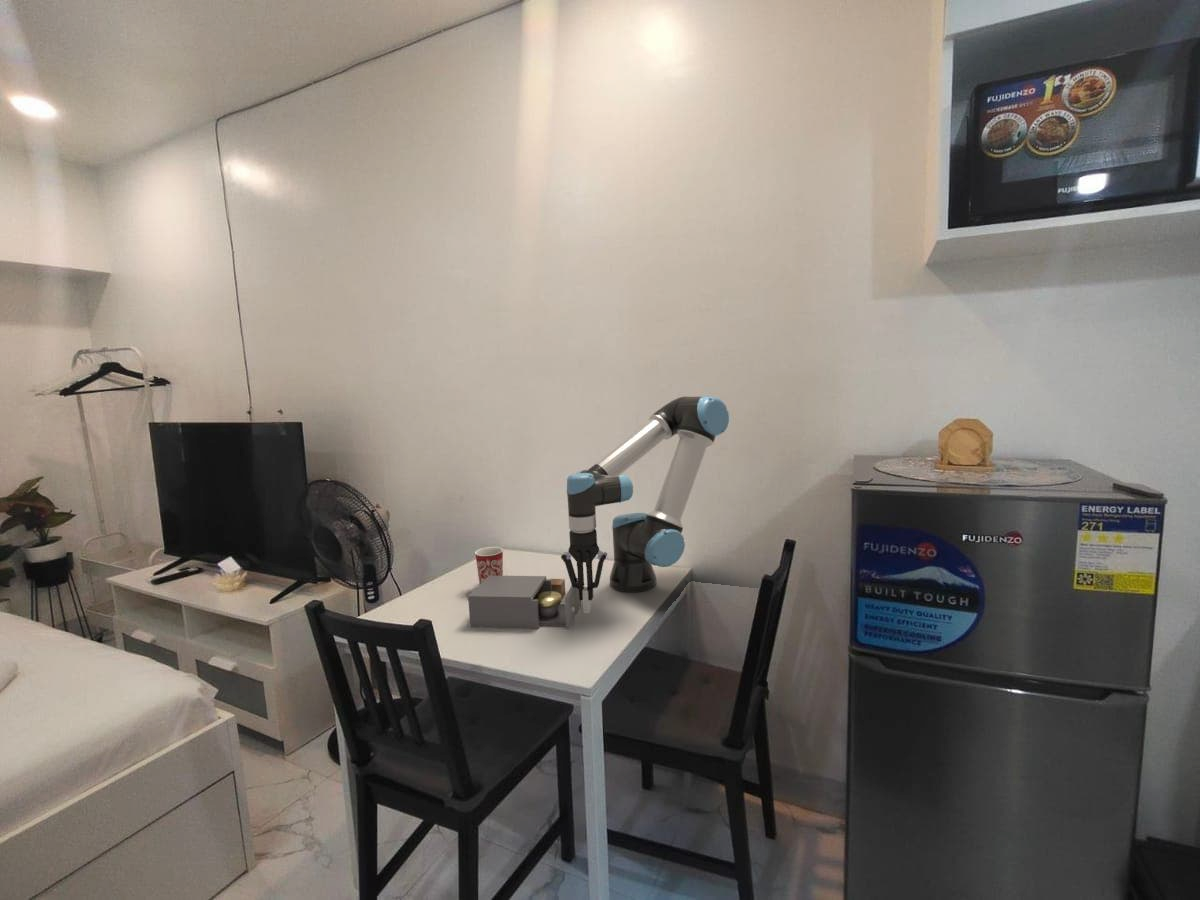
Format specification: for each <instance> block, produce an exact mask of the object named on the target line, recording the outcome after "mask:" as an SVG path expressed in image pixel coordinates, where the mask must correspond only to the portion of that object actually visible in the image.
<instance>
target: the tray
mask: <svg viewBox="0 0 1200 900" xmlns="http://www.w3.org/2000/svg"><path fill="white" fill-rule="evenodd" d="M576 578H577V582H578V577H576ZM563 600H564V604H563V603H561V604H559V605H558V606H555V607H552V608H538V611H539V626H559V627H560V626H562V627H563V626H564V627H565V628H566V629H571V628H572V626H573V624H574V622H575V619H576V618H577V615H578V614H579V611H580V608H581V607H582V600H580V599H579V590H578V588H573V587H572V585H571V586H570V588H569V589H568V591H567V593H566V594H565V596H564V598H563Z"/></svg>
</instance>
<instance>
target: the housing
mask: <svg viewBox="0 0 1200 900" xmlns="http://www.w3.org/2000/svg"><path fill="white" fill-rule="evenodd" d="M551 579H552V578H547V575H503V576H488V577H487V578H486V579H485V580H484V581H483V582H482V583H481V584H479V585H478V586H477V587H475V588H474V590H473V591H472V592H471V593H469V595H468V596H467V600H468V612H469V613H468V614H469V623H470V625H469V626H470V628H482V629H483V628H484V629H516V630H517V629H520V630H525V629H527V630H539V629H540V627H541V626H540V625H539V611H538V599H533V598H534V596H535V595H537V594H539V593H542V592H547V591H552V583H551Z"/></svg>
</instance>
